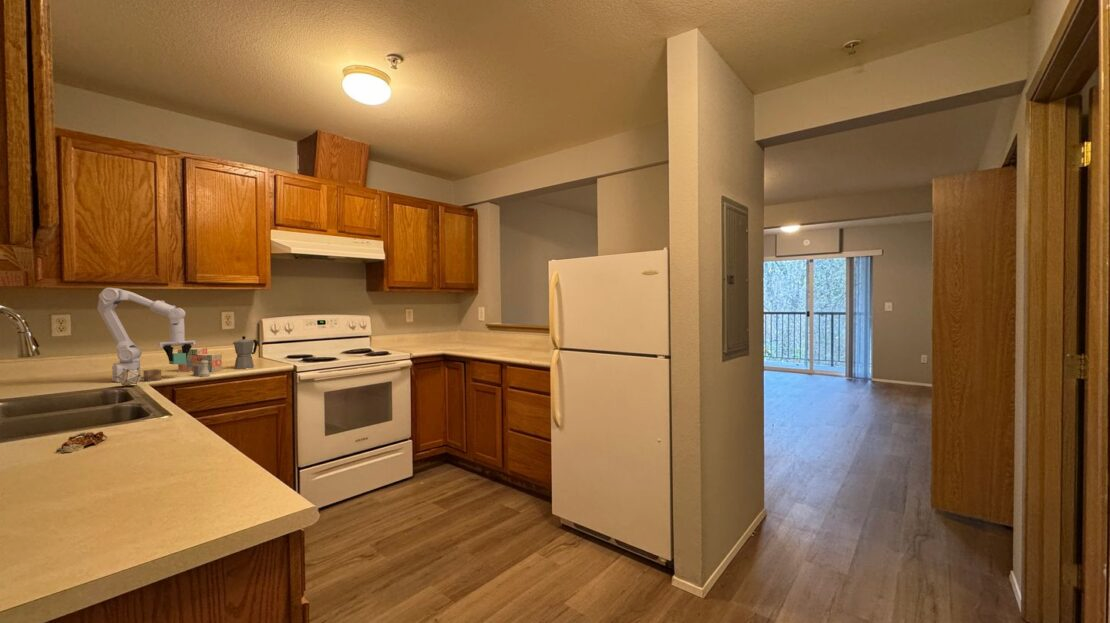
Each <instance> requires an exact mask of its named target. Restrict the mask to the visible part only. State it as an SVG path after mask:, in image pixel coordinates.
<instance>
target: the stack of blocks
mask: <svg viewBox="0 0 1110 623" xmlns="http://www.w3.org/2000/svg"><path fill="white" fill-rule="evenodd" d="M177 353H182V348H179V349H178V348H177ZM222 359H223V358H222V353H208V348H207V347H201V348H200V347H199V348H198V347H196V348H194V347H193V348H192V347H191V349H190V350H189V352H188V355H187V358H186V364H177V370H178V371H180V372H179V373H182V372H183V373H190V372H189V371H193V366H194V365H202V364H201V363H200V362H201V361H202V360H203V361H204V360H205V361H206V360H208V364H207V365H209V366H210V373H214V372H213V371H216V372H220V371H219V370H222V369H223V368H222V362H223V361H222Z"/></svg>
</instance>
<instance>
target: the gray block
mask: <svg viewBox="0 0 1110 623" xmlns="http://www.w3.org/2000/svg"><path fill="white" fill-rule="evenodd" d="M201 368H202V366H201V365H194V366H193V372H192V373H193V376H195V375H196V377H200V374H199V373H200V372H201ZM208 371H209V372H210V366H209V365H208ZM210 373H211V372H210Z"/></svg>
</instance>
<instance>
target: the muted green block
mask: <svg viewBox="0 0 1110 623" xmlns="http://www.w3.org/2000/svg"><path fill="white" fill-rule="evenodd" d="M168 364H169V365H173V366H174V365H178V364H186V353H178V352H176V353H175V352H173V361H169V360H168Z"/></svg>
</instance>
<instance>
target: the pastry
mask: <svg viewBox="0 0 1110 623" xmlns="http://www.w3.org/2000/svg"><path fill="white" fill-rule="evenodd" d="M103 438H105V439H107V438H108V437H107V436H106V435H105V434H104V432H103V431H98V432H96V433H95V432H93V431H92V430H89V431H87V432H84V431H83V432H79V433H77V434H75V435H70V436H69V437H68V439H67V440H66V441H65V442H63V443H62V445H61V447H58V448H57V449H56V453H58V455H59V454H60V455H61V454H64V453H69V452H70V453H75V452H79V451H82V450H84V447H86V446H88V445H91V444H92V443H93V444H94V445H95V446H99V445H100V444H102V443H103ZM101 442H102V443H101ZM99 443H100V444H99Z"/></svg>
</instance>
